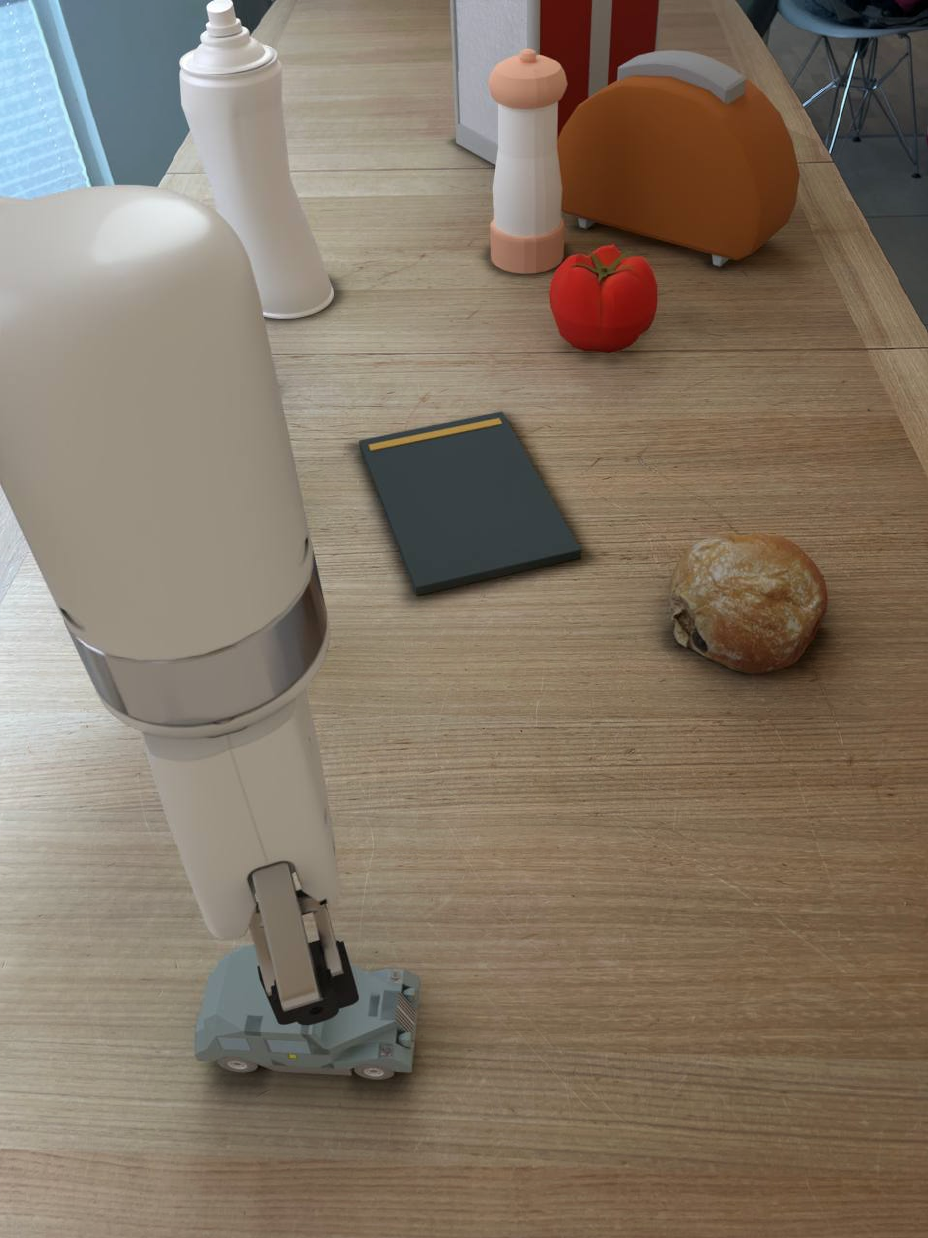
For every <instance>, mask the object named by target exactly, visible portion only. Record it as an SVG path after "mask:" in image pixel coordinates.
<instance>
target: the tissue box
mask: <svg viewBox="0 0 928 1238" xmlns="http://www.w3.org/2000/svg"><path fill="white" fill-rule="evenodd" d="M449 9H450V10H449V12H450V31H451V34H450V35H451V54H452V55H451V57H452V73H453V74H452V77H453V79H452V81H453V102H454V122H455V123H454V124H455V125H454V126H455V143H456V144H457V145H458V146H460V147H462V148H464V149H466V150H468V151H469V152H471V153H473V154H475V155H477V156H478V157H480V158H482V159H484V160H486V161H488V162H489V163H491V164H493V165H494V166H496V160H497V152H498V103H497V102H496V101H495V100H494V99H493V98H492V96H491V93H490V90H489V85H488V83H489V79H490V75H491V73H492V72H493V70H494V68H495V67H496V65H497V64H498V63H500V62H502V61H504V60H506V59H508V58H510V57H513V56H516V55H519V54H520V52H521V51H522V50H524V49H532V50H534V51H535V52H536V54H537V55H542V56H545V57H548V58H550V59H553V60H555V61H557V62H558V63H559V64H560V65H561V67H562V68H563V70H564V72H565V75H566V80H567V87H566V90H565V92H564V94H563V96H562V98H561V100H559V101H558V118H557V140H558V138H559V136H560V133H561V131H562V129H563V127H564V126H565V124H566V123H567V121H568V120H569V118H570V117H571V115H572V114H573V112H574V111H575V110H576V108H577V107H578V105H579V104H581V103H582V102H584V101H585V100H586V99H588V98H589V97H591V96H592V95H594V94H595V93H597V92H598V91H600V90H601V89H603V88H605V87H607V86H608V85H610V84H612V83H613V82H615V81H617V77H618V67H619V66H621V65H623V64H624V63H626V62H628V61H630V60H631V59H633V58H635V57H636V56H638V55H643V54H647V53H651V52H655V51H659V47H660V46H659V45H660V34H661V21H662V10H663V0H449Z"/></svg>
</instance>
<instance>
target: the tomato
mask: <svg viewBox="0 0 928 1238" xmlns="http://www.w3.org/2000/svg"><path fill="white" fill-rule="evenodd" d="M587 252H588V254H587V255H585V254H580V253H578V254H573V255H569V256H568V257H566V259H565V260H564V261H563V262H561V263H560V264H559V266H557V268H556V270H555V272H554V274H553V276H552V278H551V280H550V283H549V284H550V285H549V292H548V299H549V300H548V301H549V308H550V311H551V313H552V316H553V319H554V322H555V324H556V327H557V330H558V333H559V336H560V337H561V338H562V339H563V340H564V341H566V342H567V343H568V345H570V346H571V347H572V348H573V349H577V350H579V351H581V352H584V353H586V352H590V353H591V352H592V353H604V354H613V353H616V352H621V351H623V350H626V349H628V348H630V347H631V346H633V345H634V344H636V342H637V341H638V340H639V338H640V336H642V335H643V334H645V333H646V332H647V331H648V330H650V328H651V326H652V325H653V323H654V321H655V317H656V314H657V308H658V303H659V302H658V301H659V300H658V299H659V296H658V294H659V293H658V282H657V279H656V276H655V272H654V270H653V268H652V267H651V265H650V263H649V261H647V260H646V259H645V258H644V256H629V257H625V256H627V255H629V254H630V253H632V250H629V251H627V252H624V253H621V251H620V250H619V249H618V248H617V246H616V245H615V244H608V245H602V246H600V247H598V248H596V249H595V250H594V251H592V252H591V251H589V250H587Z"/></svg>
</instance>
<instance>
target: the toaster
mask: <svg viewBox="0 0 928 1238" xmlns="http://www.w3.org/2000/svg"><path fill="white" fill-rule="evenodd" d="M557 151H558V159H559V167H560V175H561V182H562V202H561V213H564V214H567V215H570V216H572V217H573V216H574V217H577V219H578V226H579V228H581V229H585V230H587V229H588V228H589V227H591V226H592V225H594V224H595V223H598V224H601V225H605V226H609V227H612V228H614V229H615V228H616V229H620V230H623V231H626V232H630V233H634V234H637V235H641V236H645V237H649V238H652V239H655V240H658V241H659V240H660V241H663V242H666V243H669V244H674V245H678V246H681V247H684V248H687V249H692V250H695V251H700V252H702V253H706V254H710V255H711V257H712V264H713V266H716V267H722V266H723V265H724V264H725V263H726V262H728V260H734V261H740V260H742V259H744V258H745V257H748V256H750V255H752V254H754V253H755V252H756V251H758V250H759V249H760V248H761V247H762V246H763V245H764V244H765V243H767V242H768V241H769V240H770V239H771V238H772V237H774V235H776V234H777V233H778V232H779V231H780V230H782V228H784V227H785V226H786V225H787V224H788V223H789V221H790V219H791V216H792V214H793V211H794V208H795V207H796V204H797V197H798V191H799V183H800V175H801V173H800V169H799V165H798V160H797V156H796V151H795V146H794V142H793V139H792V137H791V134H790V133H789V130H788V128H787V126H786V123H785V120H784V119H783V116H782V113H781V112H780V110H778V108H776V106H775V105H774V104H773V103H772V101H771V100H770V99H769V98H768V97H767V96H766V94H765V93H764V92H763V91H762V90H761V89H760V88H759V87H757V86H756V85H755V84H754V83H753V82H752V81H750V80H749V79H748V78H747V77H746V76H745V75H744V74H742V72H740V71H737V70H736V69H734V68H732V67H731V66H729V65H727V63H724V62H722V61H719V60H717V59H715V58H712V57H711V56H708V55H706V54H705V55H704V54H700V53H698V52H693V51H688V50H677V49H671V50H658V51H655V52H651V53H647V54H643V55H638V56H636V57H635V58H633V59H631V60H630V61H628V62H626V63H624V64H623V65H621V66H619V67H618V77H617V81H615V82H613V83H612V84H610V85H608V86H607V87H605V88H603V89H601V90H600V91H598V92H597V93H595V94H594V95H592V96H591V97H589V98H588V99H586V100H585V101H584V102H582V103H581V104H579V105H578V107H577V108H576V110H575V111H574V112H573V114H572V115H571V117H570V118H569V120H568V121H567V123H566V124H565V126H564V127H563V129H562V131H561V133H560V136H559V138H558V140H557Z"/></svg>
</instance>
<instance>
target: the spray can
mask: <svg viewBox="0 0 928 1238" xmlns="http://www.w3.org/2000/svg"><path fill="white" fill-rule="evenodd" d="M235 11H236V10H235V7H234V2H233V0H212V1H210V2H208V3H207V5H206V12H207V17H208V22H207V23H206V24H205V28H206V30H205V31H203V32H202V33H201V34H200V36H199V39H200V42H201V43H200V44H199V45H198V46H196V47H197V48H194V49H192V50H189V51H188V52H185V54H183V55H182V56H181V57H180V59H179V63H178V64H179V67H180V70H179V88H180V89H179V90H180V106H181V108H182V111H183V114H184V116H185V120H186V122H187V126H188V128H189V131H190V134H191V137H192V140H193V142H194V144H195V147H196V151H197V153H198V156H199V159H200V162H201V164H202V167H203V170H204V174H205V175H206V179H207V181H208V184H209V187H210V189H211V190H210V191H211V194H212V198H213V201H214V206H215V211H216V212H217V213H218V214H219V215H220V216H222V217H223V218H224V219H225V220H226V222H227V223H228V224H229V225H230V226H231V227H232V228H233V230H234V231H235V232H236V234H237V235H238V237H239V238H240V240H241V242H242V244H243V246H244V248H245V250H246V252H247V254H248V256H249V259H250V262H251V266H252V270H253V273H254V277H255V281H256V284H257V288H258V292H259V296H260V300H261V305H262V310H263V315H264V318H267V319H268V318H269V319H274V320H275V319H276V320H293V319H299V318H304V317H309V316H312V315H315V314H316V313H319V312H321V311H323V310H324V309H326V308H327V307H328V306H329V305H331V303H332V301H333V300H334V297H335V292H334V288H333V286H332V283H331V280H330V277H329V274H328V271H327V268H326V265H325V262H324V259H323V256H322V253H321V252H320V251H321V250H320V249H319V246H318V243H317V241H316V239H315V236H314V234H313V231H312V229H311V226H310V223H309V221H308V218H307V216H306V213H305V211H304V209H303V205H302V203H301V201H300V198H299V195H298V194H297V190H296V188H295V186H294V183H293V180H292V178H291V170H290V160H289V153H288V141H287V133H286V123H285V122H286V121H285V113H284V104H283V65H282V63H281V61H280V60H279V54H278V51H277V50H276V49H275V48H273V47H271V46H270V45H266V44H263V43H261V42H259V40H257V39H256V38H254V37H252V36H250V34H251V32H250V30H249V29H248V28H247V27H245V26H242V21H241V19H240V18H237V17H236V12H235Z"/></svg>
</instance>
